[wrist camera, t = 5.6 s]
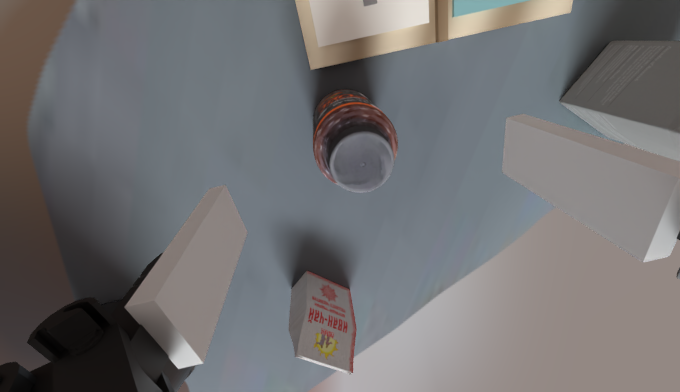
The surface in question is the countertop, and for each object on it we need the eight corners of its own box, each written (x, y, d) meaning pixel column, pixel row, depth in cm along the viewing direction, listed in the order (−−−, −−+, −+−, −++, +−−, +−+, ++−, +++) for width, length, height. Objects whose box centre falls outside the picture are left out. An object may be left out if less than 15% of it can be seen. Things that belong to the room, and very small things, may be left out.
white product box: (334, 306, 38) (341, 383, 30) (291, 288, 36) (285, 366, 27) (349, 289, 37) (362, 364, 28) (306, 270, 35) (305, 345, 26)
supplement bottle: (359, 75, 25) (392, 93, 15) (383, 133, 27) (425, 182, 18) (300, 106, 25) (294, 143, 16) (329, 160, 28) (341, 221, 18)
